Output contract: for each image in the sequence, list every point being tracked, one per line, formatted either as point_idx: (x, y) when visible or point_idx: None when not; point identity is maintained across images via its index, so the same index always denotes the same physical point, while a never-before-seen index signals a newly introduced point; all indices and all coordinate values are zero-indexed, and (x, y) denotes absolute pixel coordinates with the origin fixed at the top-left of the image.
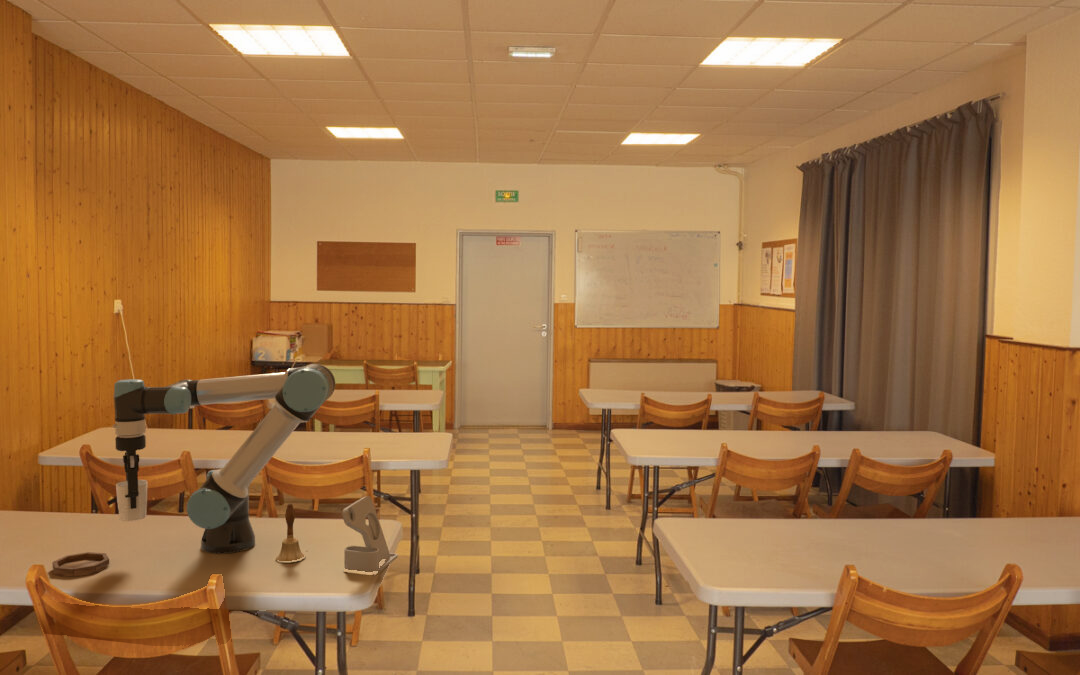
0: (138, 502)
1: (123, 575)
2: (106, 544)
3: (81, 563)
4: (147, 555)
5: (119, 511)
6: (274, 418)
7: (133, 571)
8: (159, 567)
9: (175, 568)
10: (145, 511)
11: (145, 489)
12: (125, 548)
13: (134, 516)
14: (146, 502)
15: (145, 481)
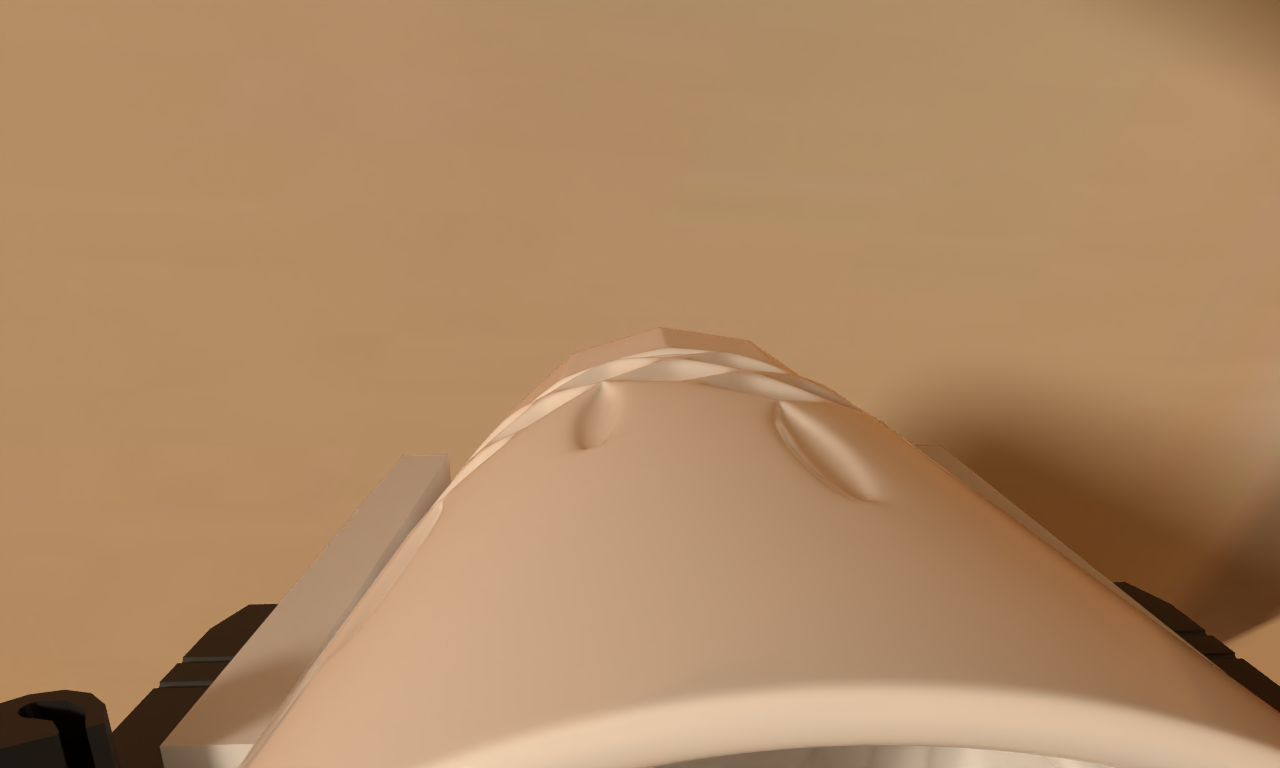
0: (1126, 598)
1: (943, 433)
2: (115, 543)
3: None
4: (532, 253)
5: (715, 762)
6: None
7: (889, 367)
8: (892, 178)
9: (984, 52)
10: (767, 359)
11: (1093, 577)
12: (272, 412)
13: None
14: (769, 378)
15: (547, 762)
